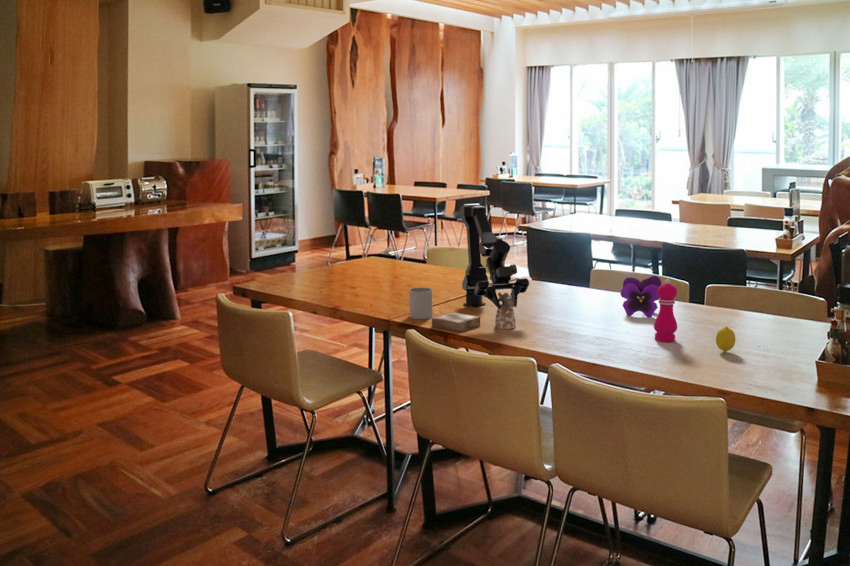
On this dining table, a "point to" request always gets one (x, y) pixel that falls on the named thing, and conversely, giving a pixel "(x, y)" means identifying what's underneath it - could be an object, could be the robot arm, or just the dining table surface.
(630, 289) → the flower
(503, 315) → the figurine
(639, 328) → the dining table surface
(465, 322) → the plinth
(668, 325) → the pepper mill
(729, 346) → the lemon
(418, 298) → the cup
